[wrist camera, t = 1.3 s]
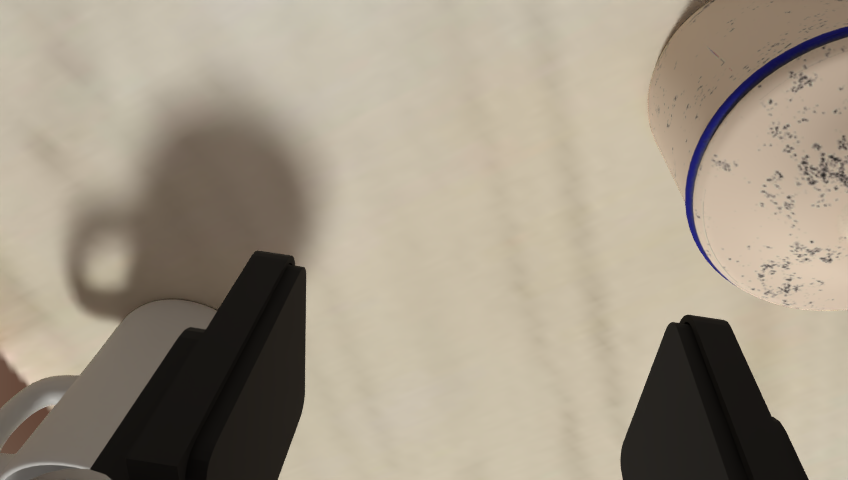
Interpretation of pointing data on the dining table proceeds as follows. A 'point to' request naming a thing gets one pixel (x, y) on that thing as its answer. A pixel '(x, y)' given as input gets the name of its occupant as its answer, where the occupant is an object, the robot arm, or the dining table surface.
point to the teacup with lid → (762, 143)
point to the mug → (94, 392)
